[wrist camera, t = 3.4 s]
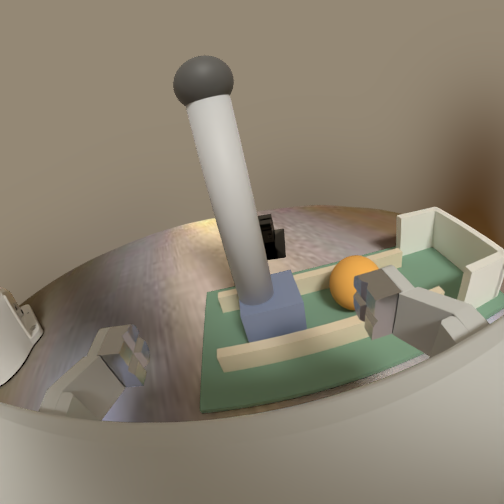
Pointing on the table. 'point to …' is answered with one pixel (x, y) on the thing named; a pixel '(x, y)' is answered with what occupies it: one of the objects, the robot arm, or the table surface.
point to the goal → (407, 241)
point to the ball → (348, 278)
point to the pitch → (321, 363)
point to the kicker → (236, 201)
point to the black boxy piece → (272, 238)
